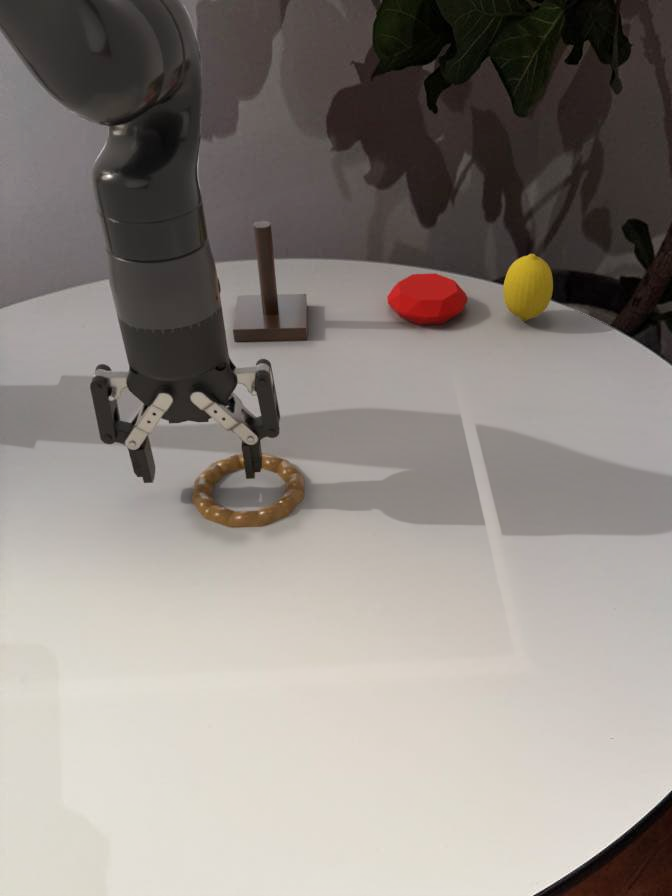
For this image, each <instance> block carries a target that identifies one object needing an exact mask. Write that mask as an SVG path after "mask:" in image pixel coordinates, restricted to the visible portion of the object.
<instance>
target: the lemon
mask: <svg viewBox="0 0 672 896" xmlns="http://www.w3.org/2000/svg"><path fill="white" fill-rule="evenodd" d="M553 290H554V280H553V272H552V269H551V267H550V266H549V264H548V263H547V262H546V261H545V260H544V259H542V258H541V257H539V256H536V254H535V253H529V254H528V255H523V256H521V257H519V258H517V259H516V260H515V261H513V262H512V264H511V265H510V266H509V267H508V270H507V272H506V275H505V278H504V281H503V287H502V295H503V301H504V304H505V306H506V308H507V310H508V311H509V312H510V313H511V314H512V315H513V316H515V317H517V318H519V319H520V320H521V321H522V322H527V321H529V319H534V318H536V317H538V316H540V315H541V314H543V312H545V311H546V310H547V308H548V306H549V304H550V302H551V299H552V296H553Z"/></svg>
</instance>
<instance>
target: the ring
mask: <svg viewBox="0 0 672 896" xmlns="http://www.w3.org/2000/svg"><path fill="white" fill-rule="evenodd" d="M241 469H245V467H244V460H243V453H236V454H234V455H231V456H228V457H225V458H222V459H220V460H217V461H214V462H212V463H211V464H209V466H208V467H207V468H206V469H205V470H204V471H202V473H200V475H199V476H197V477H196V479H195V480H194V484H193V490H192V496H191V497H192V498H191V502H192V505H194V507H195V508H196V510H197V511H198V512H199V513H200V514H201V517H203V518H204V519H205V520H207V521H210V522H213V523H216V524H219V525H222V526H224V527H227V528H230V529H231V528H232V529H234V528H235V529H237V528H239V529H240V528H259V527H264V526H266V525H269V524H272V523H274V522H276V521H278V520H280V519H281V520H282V519H284V518H286V517H288V516H290V515H291V514H292V513H293V511H294V510H296V508H297V507H298V506H299V504H300V503H301V502H302V501H303V500H304V498H305V478H304V475H303V474H302V473H301V472H300V471H299V470H298V469H297V468H296V467H295V466H294V465H293V464H292V463H291V462H290V461H289V460H288V459H284V458H281V457H278V456H276V455H272V454H269V453H265V452H262V468H261V469H263V470H266V471H269V472H273V473H276V474H277V475H278V476H279V477H280V478H281V479H282V481H283V482H284V483H285V493H284V494H283V495H282V496H281V497H280V498H279V499H278V500H277V502H275V503H272V504H270V505H267V506H265V507H262V508H259V509H257V510H238V511H237V510H236V511H235V510H232V509H230V508H227V507H224V506H221V505H218V503H217V502H216V501H215V499H214V498H213V497H212V494H213V487H214V486H215V484H216V483H218V481H220V480H221V478H223V477H224V476H226V475H228V474H231V473H233V472H236V471H239V470H241Z"/></svg>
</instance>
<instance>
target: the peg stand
mask: <svg viewBox="0 0 672 896" xmlns="http://www.w3.org/2000/svg"><path fill="white" fill-rule="evenodd" d="M253 233H254V242H255V252H256V261H257V272H258V279H259V290H260V294H243V295H242V294H240V295H239V294H238V295H236V303H235V310H234V319H233V326H232V333H233V341H234V342H237V343H238V342H273V341H307V340H308V301H307V300H308V299H307V298H308V297H307V293H287V294H278V288H277V287H278V285H277V277H276V264H275V256H274V245H273V244H274V243H273V233H272V224H271V222H269V221H267V220H259V221H256V222H254V223H253Z"/></svg>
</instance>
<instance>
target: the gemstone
mask: <svg viewBox="0 0 672 896" xmlns="http://www.w3.org/2000/svg"><path fill="white" fill-rule="evenodd" d="M386 299H387V304H388V306H390V308H391V309H392V310H393V311H394V312H395V313H396V314H397V315H398V316H399V318H401V319H404V320H406V321H407V322H408V321H409V322H411V323H413V324H415V325H418V326H420V325H421V326H422V325H423V326H424V325H443V324H444V323H446V322H447V321H449V320H451V319H452V318H454V317H456V316H457V315H458V314H460V313H461V312H463V310H464V309H465V306H466V304H467V303H468V296H467V293H466V292H465V291H464V290H463V288H462V287H461V286H460V285H459V284H458V283H457V282H456V280H454V279H451V278H449V277H446V276H444V275H442V274H439V273H436V272H435V273H413V274H410V275H409V276H407V277H405V278H403V279H402V280H399V281H398V282H397V283H396V284H395V285H394V286H393V287H392V289H391V290H390V291H389V293H388V294H387V297H386Z"/></svg>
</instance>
